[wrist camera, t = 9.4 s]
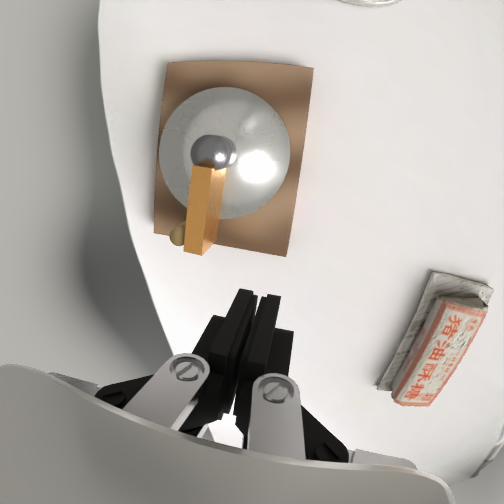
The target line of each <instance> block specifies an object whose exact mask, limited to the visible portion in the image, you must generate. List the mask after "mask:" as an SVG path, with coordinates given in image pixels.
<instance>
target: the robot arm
mask: <svg viewBox="0 0 504 504" xmlns="http://www.w3.org/2000/svg"><path fill="white" fill-rule="evenodd" d="M341 1H343V2H346V3H351V4H355V5H360V6H368V7H381V6H388V5H392V4H394V3H397V2H399V1H400V0H341ZM257 299H258V296H257V295H253V291H251V290H246V289H241V288H240V289H239V291H238V293H237V295H236V297H235V299H234V301H233V303H232V305H231V307H230V309H229V311H228V313H227V315H226V317H221V316H217V315H213V317H212V318H211V320H210V322H209V323H208V325H207V327H206V329H205V330H204V332H203V334H202V336H201V338H200V339H199V341H198V343H197V345H196V347H195V348H194V350H193V352H192V354H188V353H183V354H178V355H175V356H173V357H171V358H170V359H169V360H168V361H167V362H166V363H165V364H164V365H163V366H162V367H161V368H160V369H159V370H158V372H156V374H154V375H150V376H146V377H142V378H138V379H134V380H129V381H125V382H120V383H116V384H111V385H108V386H105V387H103V388H100V387H99V386H98V384H95V383H91V382H87V381H83V380H79V379H75V378H72V377H68V376H65V375H62V374H58V373H45V372H43V371H40V370H37V369H34V368H30V367H26V366H21V365H15V364H6V365H1V366H0V504H456V503H455V500H454V497H453V494H452V492H451V490H450V488H449V486H448V485H447V484H446V483H445V482H444V481H443V480H442V479H440V478H438V477H436V476H434V475H432V474H430V473H426V472H423V471H420V470H417V468H416V466H415V465H414V464H413V463H412V462H411V461H409V460H406V459H403V458H397V457H391V456H386V455H381V454H377V453H372V452H368V451H363V450H359V449H355V451H351V450H347V448H346V447H345V446H344V444H343V443H342V442H341V441H339V440H338V439H337V438H336V437H335V436H334V435H333V434H332V433H331V432H329V431H328V430H327V429H326V428H325V427H324V426H323V425H322V424H321V423H320V422H319V421H318V420H317V419H316V418H314V417H313V416H312V415H311V414H310V413H309V412H308V411H307V410H306V409H305V408H304V407H303V406H302V405H301V401H300V392H299V388H298V385H297V384H296V383H295V381H293V380H292V379H291V378H289V377H288V372H289V365H290V358H291V350H292V342H293V334H294V331H289V330H284V329H278V328H275V325H276V320H277V315H278V310H279V305H280V299H281V296H276V295H271V294H268V295H267V297H263V296H262V297H261V300H260V303H259V306H258V309H257V312H256V305H257ZM255 312H256V315H255ZM235 394H236V397H235ZM234 397H235V404H234V412H233V415H235V416H237V417H236V423H235V425H236V426H237V427H238V428H239V430H240V431H241V432H242V434H243V438H242V449H241V448H237V447H232V446H228V445H224V444H220V443H216V442H213V441H208V440H205V439H201V437H202V436H203V434H204V433H205V431H206V429H207V427H208V423H211V422H214V421H216V420H221V419H222V416H223V413H227V414H229V412H230V409H231V406H232V403H233V400H234Z"/></svg>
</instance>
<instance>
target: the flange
mask: <svg viewBox="0 0 504 504" xmlns="http://www.w3.org/2000/svg"><path fill="white" fill-rule="evenodd" d="M289 162H290V142H289V137H288V134H287V130H286V128H285V126H284V124H283V121H282V120H281V118H280V117H279V115H278V114H277V113H276V111H275V110H274V109H273V108H272V107H271V106H270V105H269V104H268V103H267V102H266V101H264V100H263V99H262V98H260V97H259V96H257V95H255V94H253V93H251V92H249V91H246V90H243V89H239V88H233V87H217V88H211V89H207V90H204V91H201V92H199V93H197V94H195V95H193V96H191V97H189V98H188V99H187V100H185V101H184V102H183V103H182V104H181V105H180V106H178V107H177V108H176V110H175V111H174V112H173V113H172V115H171V116H170V118H169V119H168V121H167V123H166V125H165V127H164V129H163V132H162V135H161V139H160V145H159V163H160V168H161V172H162V175H163V178H164V180H165V183H166V185H167V187H168V188H169V190H170V191H171V193H172V194H173V195H174V197H175V198H176V199H177V200H178V201H179V202H180V203H181V204H182V205H184V206H185V207H186V208H187V217H186V227H185V239H184V251H185V252H189V253H193V254H197V255H201V256H202V255H203V254H204V253H205V252H206V251H207V250H208V248H209V247H210V246H211V245H212V244H213V243H214V242H215V241H216V239H217V232H218V224H219V219H233V218H238V217H242V216H245V215H248V214H250V213H252V212H254V211H256V210H258V209H259V208H261V207H262V206H263V205H265V204H266V203H267V202H268V201H269V200H270V199H271V198H272V197H273V196H274V195H275V193H276V192H277V191H278V189H279V188H280V186H281V185H282V183H283V181H284V179H285V176H286V174H287V171H288V167H289Z"/></svg>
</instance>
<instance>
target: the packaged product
mask: <svg viewBox="0 0 504 504" xmlns="http://www.w3.org/2000/svg"><path fill="white" fill-rule="evenodd" d="M493 291H494V289H493V288H491V287H489V286H487V285H485V284H481V283H478V282H474V281H470V280H467V279H463V278H460V277H457V276H453V275H450V274H446V273H439V272H432V274H431V276H430V278H429V281H428V283H427V286H426V288H425V291H424V294H423V296H422V299H421V301H420V304H419V306H418V309H417V311H416V313H415V315H414V317H413V319H412V321H411V323H410V325H409V327H408V329H407V332H406V334H405V336H404V337H403V339H402V341H401V343H400V344H399V346H398V349H397V350H396V353H395V355H394V358H393V360H392V361H391V363H390V365H389V367H388V368H387V370H386V372H385V374H384V375H383V377H382V379H381V381H380V383H379V385H378V386H377V390H384V391H392V393H391V395H392V398H393V399H394V402H396V403H398V404H400V405H401V406H418V407H422V406H426V407H428V406H430V404H431V403H432V402H433V400H434V399H435V398H436V397H437V395H438V394H439V393H440V391H441V390H442V388H443V387H444V385H445V384H446V383H447V381H448V379H449V378H450V377H451V375H452V374H453V372H454V371H455V369H456V368H457V366H458V364H459V363H460V361H461V360H462V358H463V356H464V355H465V353H466V351H467V349H468V347H469V346H470V344H471V342H472V341H473V339H474V337H475V335H476V333H477V331H478V329H479V327H480V326H481V324H482V322H483V320H484V318H485V317H486V313H487V312H488V305H487V304H488V302H489V299H490V297H491V295H492V293H493Z"/></svg>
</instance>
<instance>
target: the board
mask: <svg viewBox="0 0 504 504" xmlns="http://www.w3.org/2000/svg"><path fill="white" fill-rule="evenodd" d="M312 79H313V68H310V67H303V66H295V65H287V64H277V63H265V62H248V61H187V62H171V63H168V66H167V72H166V79H165V86H164V93H163V100H162V108H161V117H160V126H159V137H158V148H157V162H156V178H155V200H154V233H156V234H162V235H168V236H170V240H171V242H172V243H173V244H174V245H176V246H182V245H184V239H185V227H186V217H187V208H186V207H185V206H184V205H182V204H181V203H180V202H179V201H178V200H177V199H176V198H175V197H174V195H173V194H172V193H171V191H170V190H169V188H168V187H167V185H166V183H165V180H164V178H163V175H162V172H161V168H160V163H159V145H160V139H161V135H162V132H163V129H164V127H165V125H166V123H167V121H168V119H169V118H170V116H171V115H172V113H173V112H174V111H175V110H176V108H177V107H178V106H180V105H181V104H182V103H183V102H184V101H185V100H187V99H188V98H189V97H191V96H193V95H195V94H197V93H199V92H201V91H204V90H207V89H211V88H217V87H233V88H239V89H243V90H246V91H249V92H251V93H253V94H255V95H257V96H259V97H260V98H262V99H263V100H264V101H266V102H267V103H268V104H269V105H270V106H271V107H272V108H273V109H274V110H275V111H276V113H277V114H278V115H279V117H280V118H281V120H282V121H283V124H284V126H285V128H286V130H287V134H288V137H289V142H290V162H289V167H288V171H287V174H286V176H285V179H284V181H283V183H282V185H281V186H280V188H279V189H278V191H277V192H276V193H275V195H274V196H273V197H272V198H271V199H270V200H269V201H268V202H267V203H266V204H265V205H263V206H262V207H261V208H259V209H258V210H256V211H254V212H252V213H250V214H248V215H245V216H242V217H238V218H233V219H219V224H218V232H217V239H216V241H215V242H214V243H213V244H217V245H223V246H228V247H234V248H239V249H245V250H250V251H256V252H261V253H267V254H272V255H278V256H283V257H286V255H287V250H288V244H289V238H290V233H291V227H292V221H293V214H294V208H295V202H296V196H297V189H298V183H299V176H300V169H301V163H302V156H303V149H304V142H305V134H306V127H307V119H308V112H309V104H310V96H311V87H312Z"/></svg>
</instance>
